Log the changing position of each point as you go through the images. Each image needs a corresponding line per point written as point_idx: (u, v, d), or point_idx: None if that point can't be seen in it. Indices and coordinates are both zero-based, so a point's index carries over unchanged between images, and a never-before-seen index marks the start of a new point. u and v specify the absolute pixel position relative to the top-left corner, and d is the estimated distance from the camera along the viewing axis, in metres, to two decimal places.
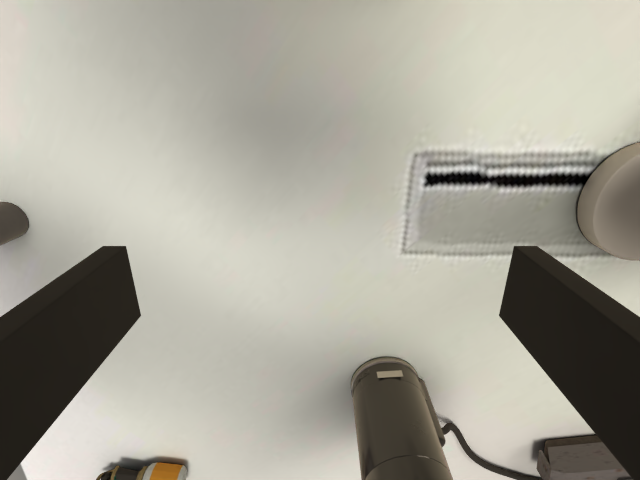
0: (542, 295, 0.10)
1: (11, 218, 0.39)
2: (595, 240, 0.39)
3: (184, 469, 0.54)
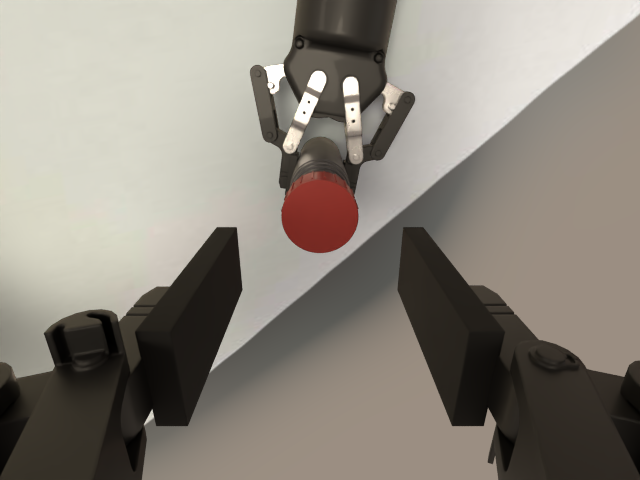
0: (413, 267, 0.12)
1: (301, 151, 0.36)
2: None
3: None
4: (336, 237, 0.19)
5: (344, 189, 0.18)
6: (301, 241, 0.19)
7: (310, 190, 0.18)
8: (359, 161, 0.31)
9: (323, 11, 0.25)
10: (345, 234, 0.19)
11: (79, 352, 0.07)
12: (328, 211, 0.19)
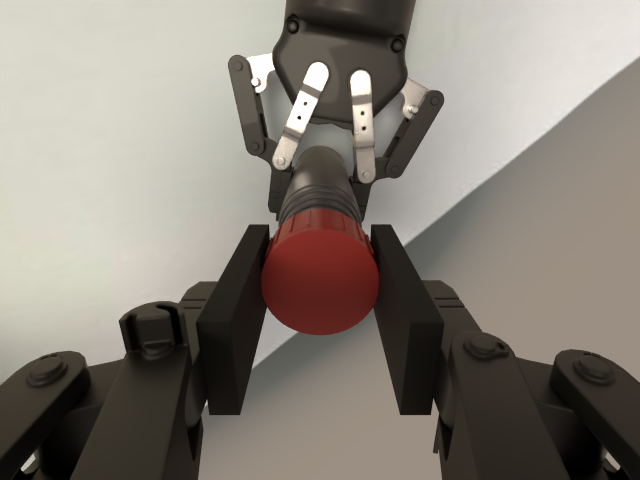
0: (377, 263, 0.12)
1: None
2: None
3: None
4: (345, 313, 0.13)
5: (359, 243, 0.12)
6: (291, 319, 0.13)
7: (305, 245, 0.12)
8: (370, 179, 0.24)
9: None
10: (359, 309, 0.12)
11: (149, 341, 0.07)
12: (333, 276, 0.12)
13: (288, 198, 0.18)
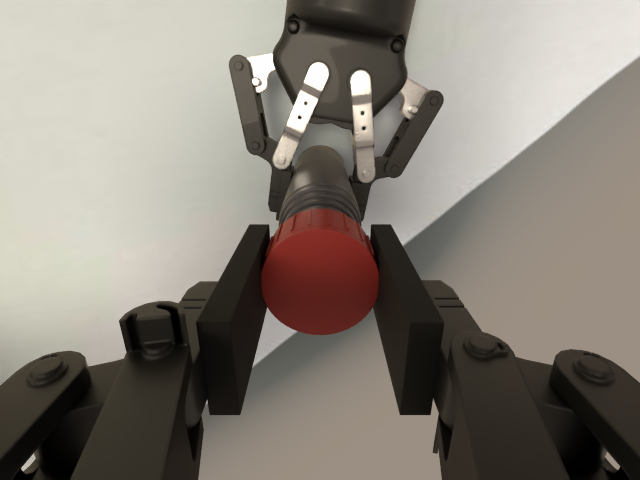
0: (377, 263, 0.12)
1: (297, 163, 0.29)
2: None
3: None
4: (332, 249, 0.12)
5: (261, 280, 0.12)
6: (369, 287, 0.12)
7: (293, 316, 0.13)
8: (370, 179, 0.24)
9: None
10: (319, 240, 0.12)
11: (148, 341, 0.07)
12: (303, 281, 0.12)
13: (288, 197, 0.18)
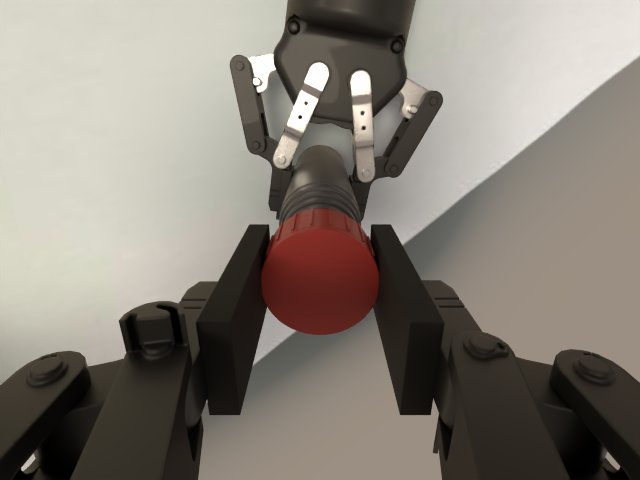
0: (377, 263, 0.12)
1: (297, 162, 0.29)
2: None
3: None
4: (281, 297, 0.12)
5: (347, 327, 0.13)
6: (292, 247, 0.12)
7: (366, 287, 0.12)
8: (370, 178, 0.24)
9: None
10: (281, 310, 0.13)
11: (148, 341, 0.07)
12: (325, 299, 0.12)
13: (289, 196, 0.18)
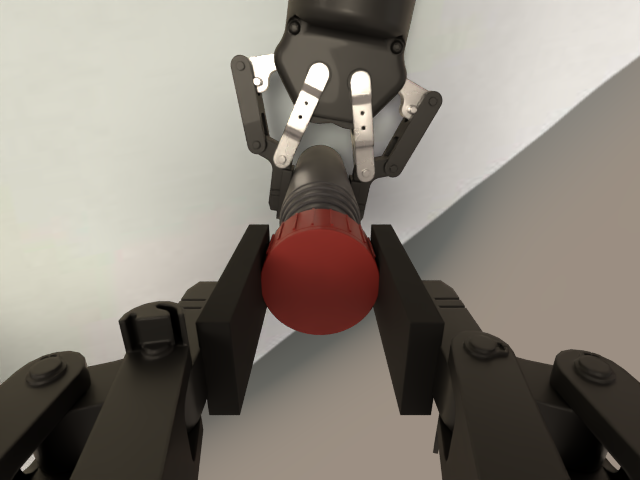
0: (377, 263, 0.12)
1: None
2: None
3: None
4: (352, 307, 0.12)
5: (346, 235, 0.12)
6: (301, 323, 0.13)
7: (294, 249, 0.12)
8: (369, 178, 0.25)
9: None
10: (365, 300, 0.12)
11: (148, 341, 0.07)
12: (330, 273, 0.12)
13: (289, 195, 0.18)
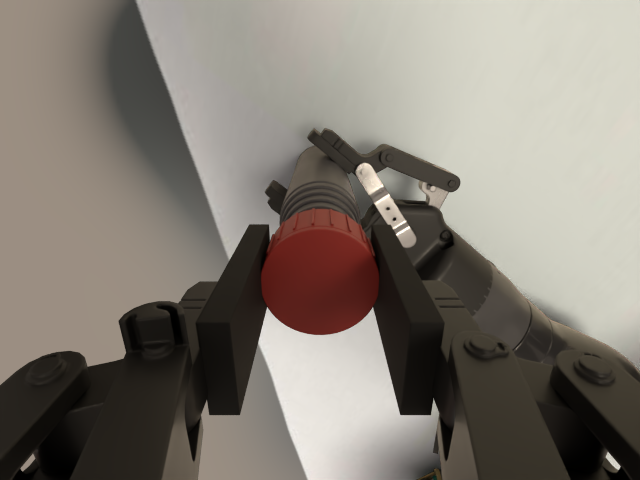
0: (377, 263, 0.12)
1: None
2: None
3: None
4: (352, 307, 0.12)
5: (346, 236, 0.12)
6: (301, 323, 0.13)
7: (294, 249, 0.12)
8: None
9: (459, 280, 0.25)
10: (365, 300, 0.12)
11: (148, 341, 0.07)
12: (330, 273, 0.12)
13: (357, 208, 0.18)
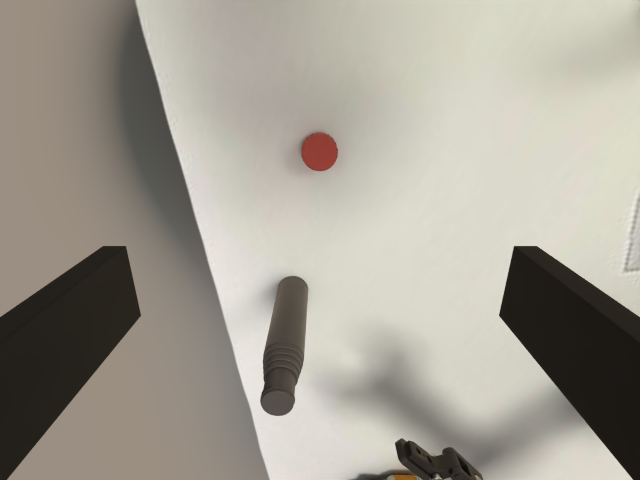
0: (542, 295, 0.10)
1: (305, 290, 0.48)
2: None
3: (418, 478, 0.62)
4: (329, 160, 0.41)
5: (327, 136, 0.40)
6: (314, 166, 0.41)
7: (312, 141, 0.40)
8: None
9: None
10: (333, 158, 0.41)
11: None
12: (322, 149, 0.41)
13: (302, 354, 0.37)
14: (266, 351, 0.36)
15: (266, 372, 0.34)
